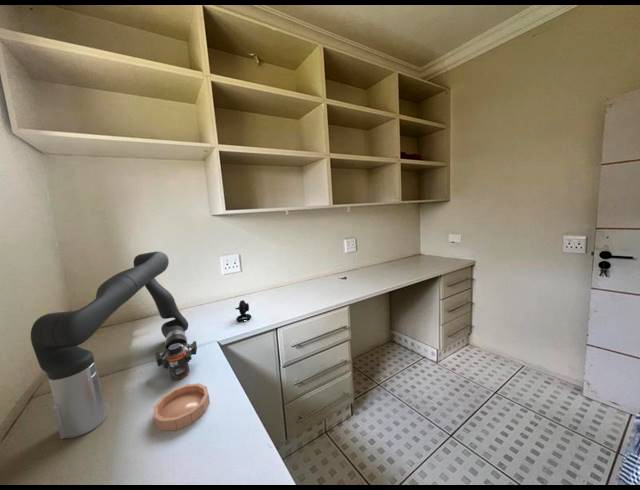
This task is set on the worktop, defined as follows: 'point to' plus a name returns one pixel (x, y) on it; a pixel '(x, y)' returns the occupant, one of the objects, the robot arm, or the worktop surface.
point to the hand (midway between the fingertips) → (177, 363)
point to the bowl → (181, 407)
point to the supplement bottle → (177, 361)
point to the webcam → (243, 311)
